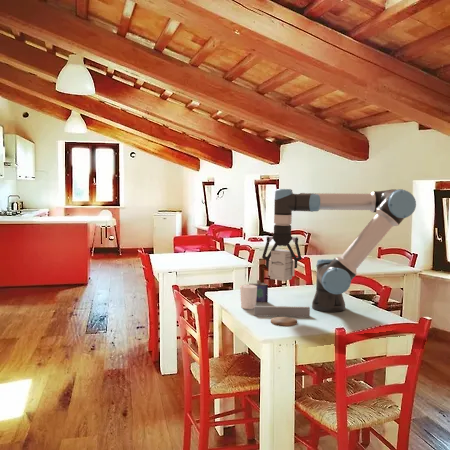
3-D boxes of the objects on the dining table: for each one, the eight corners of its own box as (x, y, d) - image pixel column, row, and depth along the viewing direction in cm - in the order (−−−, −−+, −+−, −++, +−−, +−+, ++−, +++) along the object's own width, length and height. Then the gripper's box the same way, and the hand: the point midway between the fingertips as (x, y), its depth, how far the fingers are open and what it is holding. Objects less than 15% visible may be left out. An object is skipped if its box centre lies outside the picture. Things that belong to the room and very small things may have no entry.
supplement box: (269, 279, 217) (270, 250, 216) (278, 276, 223) (278, 248, 222) (284, 281, 213) (285, 252, 212) (292, 278, 219) (293, 250, 218)
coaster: (299, 320, 211) (299, 318, 211) (293, 327, 201) (293, 325, 201) (274, 317, 215) (274, 315, 215) (267, 324, 205) (267, 322, 205)
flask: (248, 302, 243) (248, 280, 242) (249, 300, 246) (249, 279, 245) (267, 303, 241) (267, 281, 240) (268, 301, 244) (268, 280, 243)
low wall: (309, 315, 218) (309, 306, 218) (309, 316, 217) (309, 307, 217) (254, 314, 219) (254, 306, 219) (254, 315, 218) (254, 306, 217)
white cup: (255, 309, 228) (255, 288, 227) (238, 309, 229) (238, 287, 229) (258, 305, 236) (258, 285, 235) (241, 304, 237) (241, 284, 236)
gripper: (307, 224, 219) (306, 274, 221) (257, 223, 221) (255, 272, 223) (309, 225, 212) (307, 277, 213) (256, 224, 213) (255, 276, 215)
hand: (281, 275), depth 218 cm, fingers closed on supplement box, 10 cm apart
